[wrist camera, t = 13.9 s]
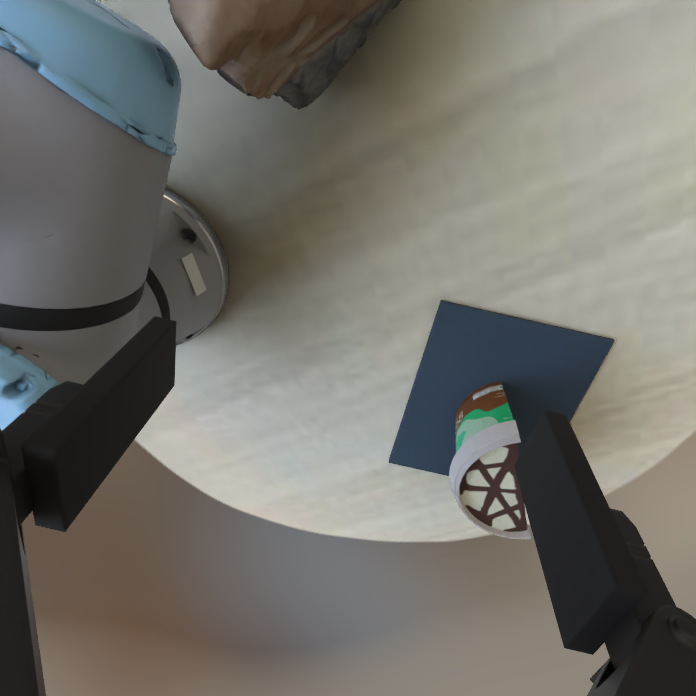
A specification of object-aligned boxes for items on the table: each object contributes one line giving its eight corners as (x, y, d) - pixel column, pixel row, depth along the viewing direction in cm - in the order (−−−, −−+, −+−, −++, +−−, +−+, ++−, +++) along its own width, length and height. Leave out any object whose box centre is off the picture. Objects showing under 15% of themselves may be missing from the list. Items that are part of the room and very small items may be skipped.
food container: (434, 377, 47) (440, 445, 38) (499, 367, 46) (520, 436, 37) (452, 470, 53) (461, 548, 44) (510, 464, 51) (531, 543, 43)
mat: (388, 460, 53) (388, 462, 53) (440, 299, 43) (441, 301, 43) (528, 491, 53) (529, 494, 53) (613, 339, 43) (614, 341, 43)
